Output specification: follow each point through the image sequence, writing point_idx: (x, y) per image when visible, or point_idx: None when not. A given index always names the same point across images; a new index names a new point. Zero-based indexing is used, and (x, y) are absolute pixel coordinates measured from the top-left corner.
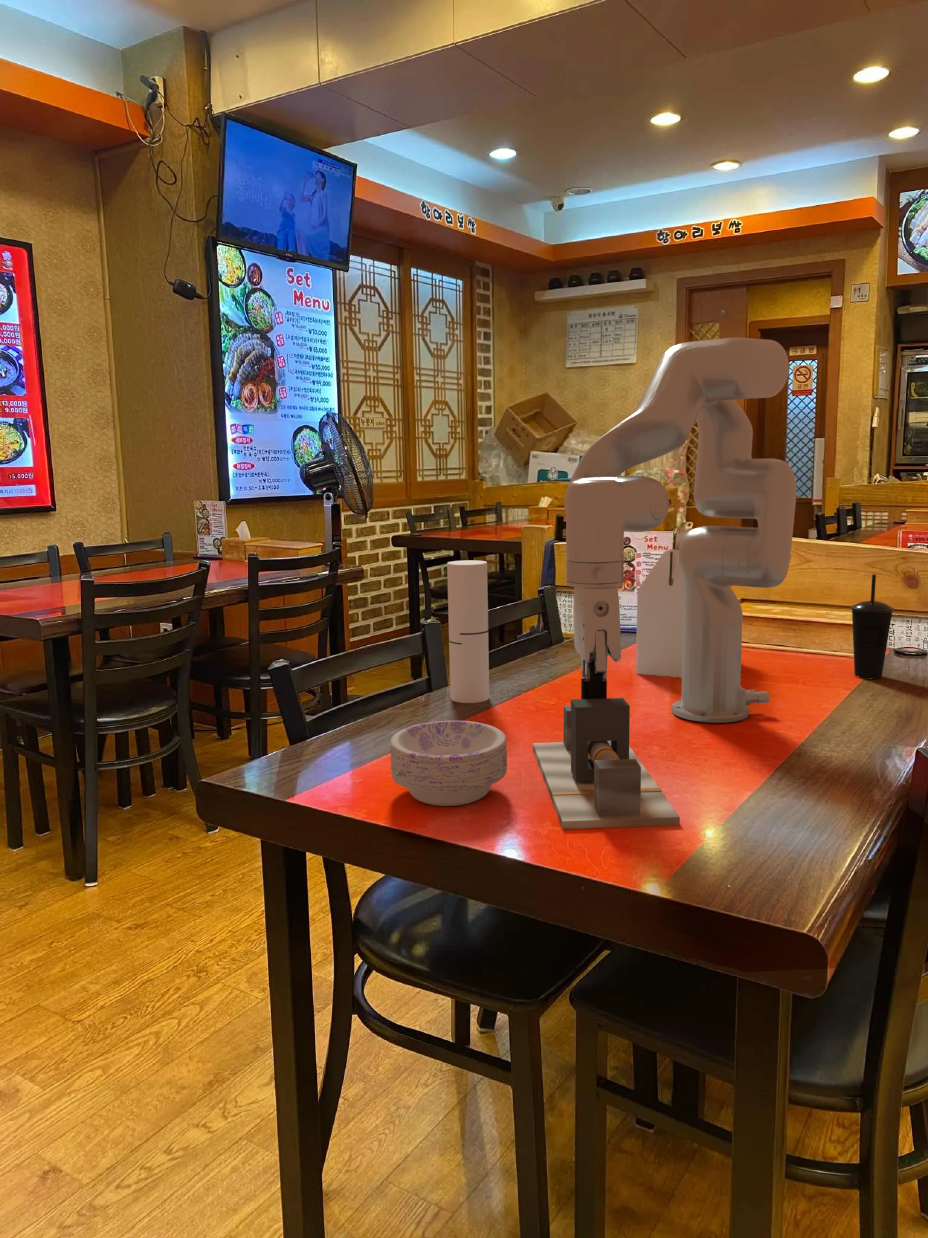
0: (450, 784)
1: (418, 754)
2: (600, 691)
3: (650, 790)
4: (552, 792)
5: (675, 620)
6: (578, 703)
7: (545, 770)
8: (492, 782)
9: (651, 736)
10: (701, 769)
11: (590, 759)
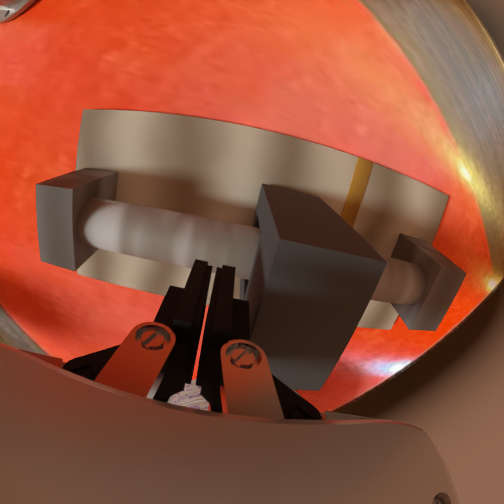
0: None
1: None
2: (248, 330)
3: (364, 179)
4: None
5: None
6: (287, 380)
7: (207, 301)
8: (298, 394)
9: (62, 55)
10: (252, 21)
11: None
